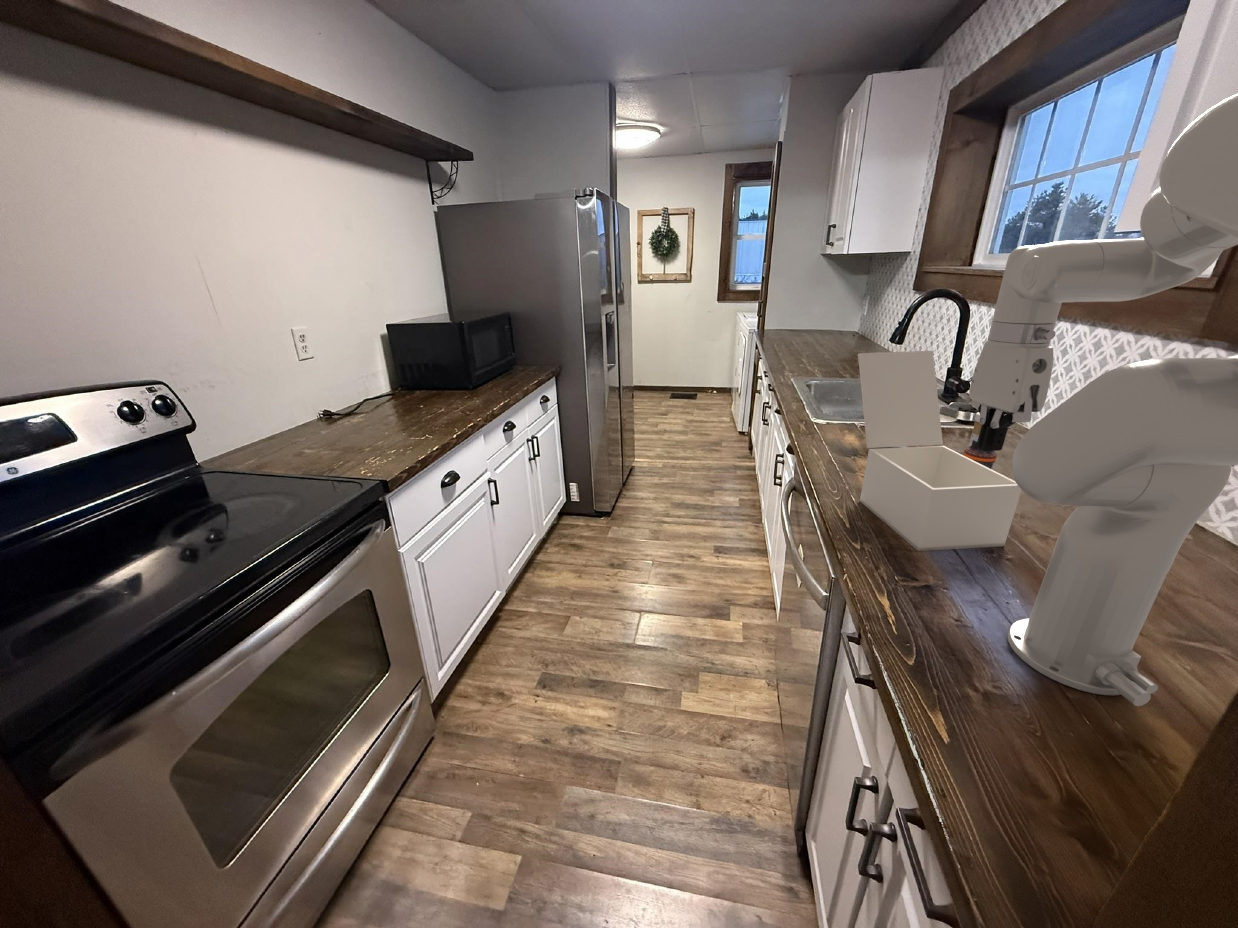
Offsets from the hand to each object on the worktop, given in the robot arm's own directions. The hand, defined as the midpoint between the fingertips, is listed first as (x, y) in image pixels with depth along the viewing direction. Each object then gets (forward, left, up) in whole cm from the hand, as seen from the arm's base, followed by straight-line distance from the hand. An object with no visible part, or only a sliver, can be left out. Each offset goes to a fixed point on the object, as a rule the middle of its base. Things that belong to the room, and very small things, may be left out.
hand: (988, 448), depth 81 cm
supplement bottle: (+24, -20, -19) cm, 37 cm away
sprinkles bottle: (+36, -30, -19) cm, 51 cm away
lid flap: (+25, 0, +2) cm, 25 cm away
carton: (+10, 0, -19) cm, 21 cm away
